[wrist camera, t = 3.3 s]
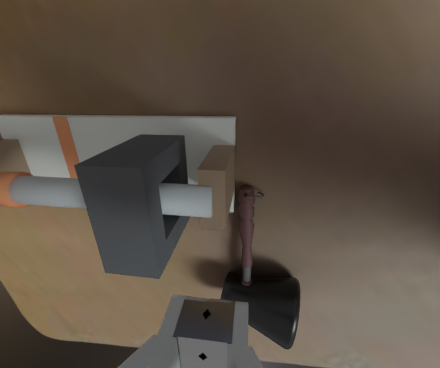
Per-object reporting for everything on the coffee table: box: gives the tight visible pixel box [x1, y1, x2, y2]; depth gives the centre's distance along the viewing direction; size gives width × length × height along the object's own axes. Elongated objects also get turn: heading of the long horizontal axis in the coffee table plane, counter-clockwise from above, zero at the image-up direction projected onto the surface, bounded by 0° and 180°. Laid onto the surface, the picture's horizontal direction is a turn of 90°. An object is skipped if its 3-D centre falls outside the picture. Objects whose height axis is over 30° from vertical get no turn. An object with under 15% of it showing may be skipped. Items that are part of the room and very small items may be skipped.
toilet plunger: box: [221, 186, 300, 349], centre depth 26 cm, size 8×18×8 cm
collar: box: [74, 134, 190, 279], centre depth 18 cm, size 4×8×8 cm, turn 1°
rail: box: [0, 114, 236, 230], centre depth 22 cm, size 26×10×10 cm, turn 91°
